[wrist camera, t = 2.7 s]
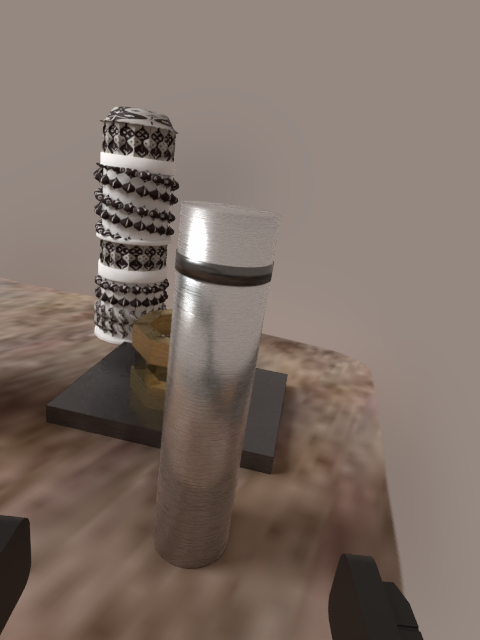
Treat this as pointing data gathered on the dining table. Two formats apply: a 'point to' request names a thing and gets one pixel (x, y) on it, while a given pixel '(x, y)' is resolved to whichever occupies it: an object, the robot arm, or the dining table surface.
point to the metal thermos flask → (210, 374)
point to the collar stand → (157, 395)
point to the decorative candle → (133, 219)
